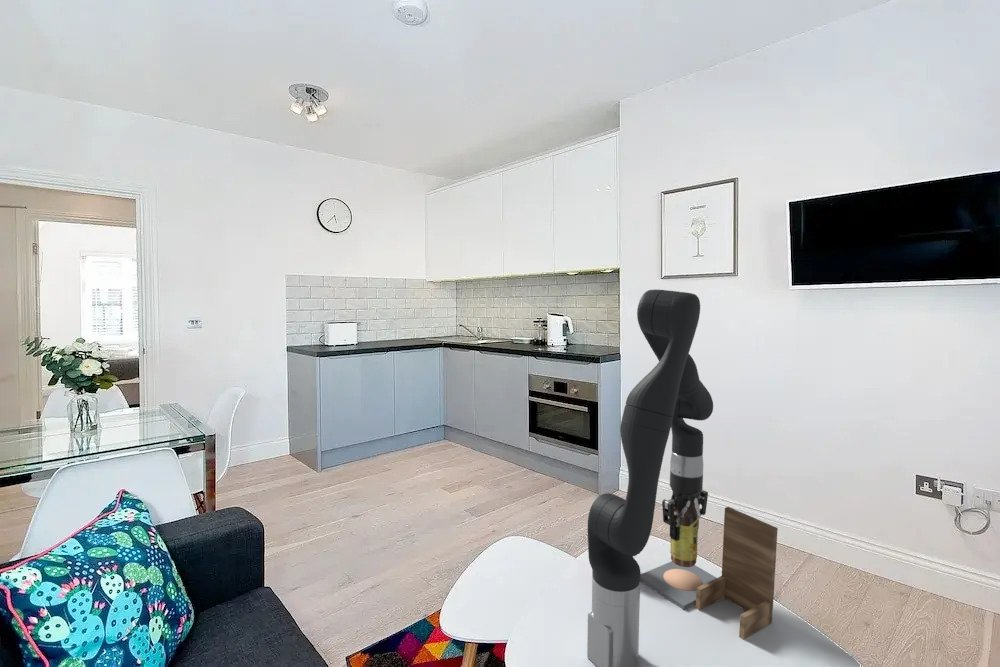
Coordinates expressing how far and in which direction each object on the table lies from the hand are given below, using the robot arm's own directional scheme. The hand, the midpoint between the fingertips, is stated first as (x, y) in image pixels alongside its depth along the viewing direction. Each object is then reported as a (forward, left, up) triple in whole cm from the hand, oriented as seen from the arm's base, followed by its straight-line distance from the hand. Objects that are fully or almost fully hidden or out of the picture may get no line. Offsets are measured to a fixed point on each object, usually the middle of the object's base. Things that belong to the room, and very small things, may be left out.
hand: (684, 535), depth 125 cm
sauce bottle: (0, 0, -7) cm, 7 cm away
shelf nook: (0, -14, -13) cm, 19 cm away
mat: (0, 0, -13) cm, 13 cm away
